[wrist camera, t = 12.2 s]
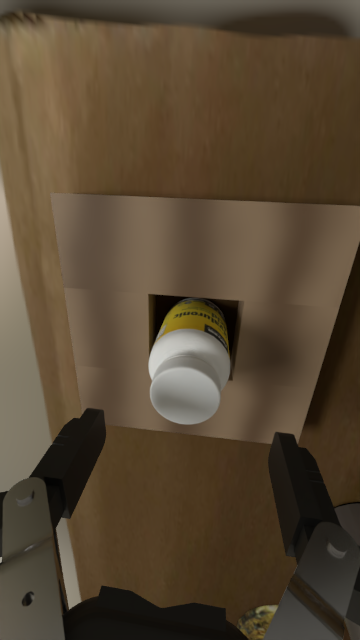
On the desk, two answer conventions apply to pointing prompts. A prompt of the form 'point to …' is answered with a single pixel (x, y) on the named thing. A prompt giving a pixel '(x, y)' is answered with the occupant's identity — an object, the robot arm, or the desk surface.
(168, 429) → the socket board
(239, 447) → the desk surface
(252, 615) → the noodle cake
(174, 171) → the desk surface
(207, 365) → the supplement bottle
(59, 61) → the desk surface
